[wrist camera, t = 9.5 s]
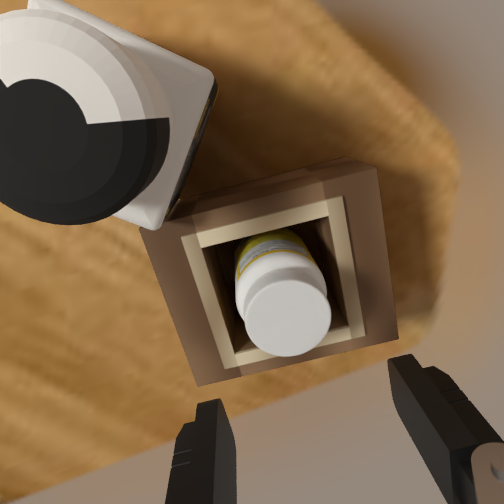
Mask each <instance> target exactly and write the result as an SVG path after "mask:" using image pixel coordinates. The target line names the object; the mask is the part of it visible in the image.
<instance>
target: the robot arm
mask: <svg viewBox="0 0 504 504" xmlns="http://www.w3.org/2000/svg"><path fill="white" fill-rule="evenodd" d="M387 362H388V370H389V377H390V384H391V391H392V397H393V401H394V404H395V407H396V410H397V412H398V414H399V416H400V418H401V420H402V422H403V424H404V425H405V427H406V429H407V431H408V433H409V435H410V436H411V438H412V440H413V442H414V444H415V445H416V447H417V449H418V451H419V453H420V454H421V456H422V458H423V460H424V462H425V464H426V465H427V467H428V469H429V471H430V473H431V474H432V476H433V478H434V480H435V482H436V483H437V485H438V487H439V489H440V491H441V492H442V494H443V496H444V498H445V500H446V501H447V503H448V504H504V441H503V440H502V439H501V438H500V436H499V435H498V434H497V433H496V432H495V430H494V429H493V428H492V427H491V426H490V424H489V423H488V422H487V421H486V419H485V418H484V417H483V416H482V415H481V413H480V412H479V411H478V410H477V409H476V407H475V406H474V405H473V404H472V403H471V401H469V400H468V398H467V397H466V395H465V394H464V393H463V392H462V391H461V390H460V389H459V387H458V386H457V384H456V383H455V382H454V381H453V380H452V379H451V377H450V376H449V375H448V374H446V373H444V372H443V371H441V370H439V369H438V368H436V367H434V366H431V367H426V368H422V367H421V365H420V364H419V363H418V361H417V360H416V359H415V357H414V356H413V355H412V354H408V355H403V356H399V357H394V358H390V359H388V361H387ZM236 491H237V486H236V446H235V440H234V436H233V432H232V429H231V426H230V423H229V420H228V417H227V415H226V412H225V409H224V406H223V403H222V401H221V399H220V398H219V399H214V400H210V401H206V402H202V403H198V404H197V409H196V418H195V421H194V422H189V423H185V424H184V426H183V427H182V429H181V431H180V432H179V434H178V436H177V438H176V442H175V449H174V456H173V460H172V468H171V471H170V477H169V483H168V489H167V494H166V500H165V504H237V492H236Z"/></svg>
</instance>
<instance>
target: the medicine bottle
mask: <svg viewBox="0 0 504 504" xmlns="http://www.w3.org/2000/svg"><path fill="white" fill-rule="evenodd" d="M218 93H219V85H218V83H217V81H216V79H215V77H214V75H213V73H212V72H211V71H210V70H208V69H207V68H205V67H202V66H200V65H198V64H196V63H194V62H192V61H190V60H188V59H185V58H183V57H181V56H179V55H177V54H175V53H173V52H171V51H168V50H166V49H164V48H162V47H160V46H158V45H156V44H154V43H152V42H149V41H147V40H145V39H143V38H141V37H139V36H137V35H135V34H132V33H130V32H128V31H126V30H124V29H122V28H120V27H118V26H115V25H113V24H111V23H109V22H107V21H105V20H103V19H101V18H99V17H96V16H94V15H92V14H90V13H88V12H86V11H84V10H82V9H79V8H77V7H75V6H73V5H71V4H69V3H67V2H65V1H62V0H29V1H28V6H27V9H23V10H15V11H10V12H7V13H4V14H0V202H2V203H3V204H5V205H6V206H8V207H9V208H11V209H13V210H14V211H16V212H18V213H21V214H23V215H25V216H27V217H30V218H33V219H36V220H39V221H42V222H47V223H51V224H59V225H82V224H87V223H92V222H96V221H99V220H102V219H104V218H107V217H109V216H111V215H112V216H115V217H117V218H120V219H123V220H125V221H128V222H131V223H133V224H136V225H138V226H141V227H144V228H146V229H149V230H157V229H159V228H160V227H161V226H162V224H163V222H164V221H165V219H166V218H167V216H168V215H169V213H170V211H171V210H172V208H173V207H174V205H175V204H176V202H177V200H178V199H179V197H180V195H181V193H182V190H183V187H184V184H185V182H186V179H187V176H188V174H189V171H190V168H191V166H192V163H193V160H194V158H195V155H196V152H197V149H198V147H199V144H200V141H201V139H202V136H203V133H204V131H205V128H206V125H207V122H208V120H209V117H210V114H211V112H212V109H213V106H214V104H215V101H216V98H217V96H218Z"/></svg>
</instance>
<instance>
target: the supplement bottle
mask: <svg viewBox="0 0 504 504" xmlns="http://www.w3.org/2000/svg"><path fill="white" fill-rule="evenodd" d="M234 270H235V297H236V305H237V309H238V311H239V314H240V316H241V317H242V319H243V320H244V322H245V327H246V331H247V333H248V335H249V337H250V339H251V340H252V342H253V343H254V344H255V345H256V346H257V347H258V348H260V349H261V350H263V351H265V352H267V353H269V354H272V355H276V356H282V357H289V356H296V355H300V354H303V353H305V352H307V351H309V350H311V349H313V348H314V347H315V346H317V345H318V344H319V343H320V342H321V341H322V340H323V338H324V337H325V335H326V334H327V332H328V330H329V327H330V323H331V309H330V305H329V302H328V300H327V289H326V283H325V280H324V277H323V275H322V273H321V271H320V269H319V268H318V266H317V264H316V263H315V261H314V259H313V258H312V256H311V254H310V252H309V251H308V249H307V247H306V246H305V244H304V242H303V241H302V239H301V238H300V236H299V235H298V234H297V233H296V232H295V231H294V230H293V229H291V228H290V227H288V226H286V227H282V228H278V229H274V230H271V231H267V232H263V233H259V234H255V235H251V236H247V237H243V238H240V240H239V241H238V243H237V246H236V248H235V253H234Z"/></svg>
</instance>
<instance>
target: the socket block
mask: <svg viewBox="0 0 504 504" xmlns="http://www.w3.org/2000/svg"><path fill="white" fill-rule="evenodd" d="M310 220H314V222H315V227H316V232H317V237H318V242H319V247H320V252H321V257H322V262H323V267H324V272H325V277H326V282H327V287H326V289H327V300H328V302H329V305H330V309H331V323H330V327H329V330H328V332H327V334H326V335H325V337H324V338H323V340H322V341H321V342H320V343H319V344H318V345H317V346H315V347H314V348H313V349H311V350H309V351H307V352H305V353H303V354H300V355H296V356H289V357H282V356H276V355H272V354H269V353H267V352H265V351H263V350H261V349H260V348H258V347H257V346H256V345H255V344H254V343H253V342H252V340H251V339H250V337H249V335H248V333H247V331H246V327H245V322H244V320H243V319H242V317H241V316H240V314H239V311H238V309H235V310H234V307H233V304H232V300H231V297H230V294H229V290H228V287H227V284H226V280H225V277H224V274H223V271H222V267H221V264H220V261H219V257H218V254H217V251H216V247H215V244H219V243H223V242H227V241H231V240H235V239H239V238H243V237H247V236H251V235H255V234H259V233H263V232H267V231H271V230H274V229H278V228H282V227H286V226H290V225H294V224H298V223H302V222H306V221H310ZM139 231H140V233H141V236H142V239H143V241H144V244H145V247H146V249H147V252H148V255H149V257H150V260H151V263H152V265H153V268H154V271H155V274H156V276H157V279H158V282H159V284H160V287H161V290H162V292H163V295H164V298H165V300H166V303H167V306H168V308H169V311H170V314H171V317H172V319H173V322H174V325H175V327H176V330H177V333H178V335H179V338H180V341H181V343H182V346H183V349H184V352H185V354H186V357H187V360H188V362H189V365H190V368H191V370H192V373H193V376H194V378H195V381H196V384H197V386H198V387H199V386H203V385H208V384H212V383H216V382H220V381H224V380H229V379H233V378H237V377H241V376H245V375H250V374H254V373H258V372H262V371H266V370H271V369H275V368H279V367H283V366H287V365H292V364H296V363H300V362H304V361H309V360H313V359H317V358H321V357H325V356H330V355H334V354H338V353H342V352H346V351H351V350H355V349H359V348H363V347H367V346H372V345H376V344H380V343H384V342H388V341H393V340H397V339H399V336H398V328H397V321H396V313H395V305H394V298H393V290H392V282H391V275H390V267H389V259H388V251H387V244H386V236H385V228H384V221H383V213H382V205H381V198H380V190H379V182H378V175H377V168H376V167H373V166H371V165H368V164H365V163H363V162H360V161H357V160H355V159H352V158H350V157H344V158H340V159H336V160H332V161H328V162H325V163H321V164H317V165H313V166H309V167H305V168H301V169H297V170H294V171H290V172H286V173H282V174H278V175H274V176H270V177H267V178H263V179H259V180H255V181H251V182H247V183H243V184H240V185H236V186H232V187H228V188H224V189H220V190H216V191H212V192H209V193H205V194H201V195H197V196H193V197H189V198H185V199H182V200H178V201H177V202H176V204H175V205H174V207H173V208H172V210H171V211H170V213H169V215H168V216H167V218H166V219H165V221H164V222H163V224H162V226H161V227H160V228H159V229H157V230H149V229H146V228H144V227H140V228H139Z"/></svg>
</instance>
